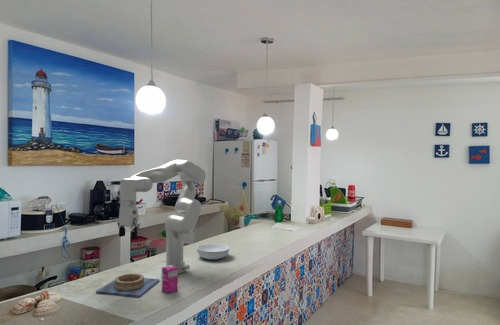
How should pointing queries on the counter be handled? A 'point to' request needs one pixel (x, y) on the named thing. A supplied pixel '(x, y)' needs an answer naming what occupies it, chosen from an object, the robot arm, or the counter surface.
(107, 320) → the counter surface
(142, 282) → the collar
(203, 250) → the serving bowl
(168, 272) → the supplement box
